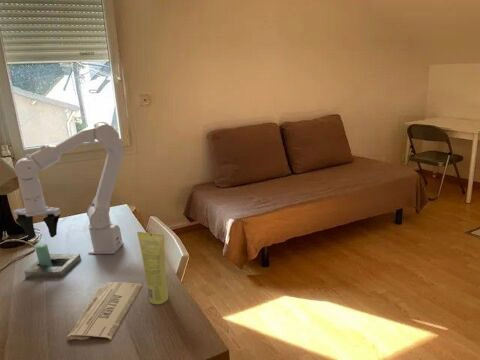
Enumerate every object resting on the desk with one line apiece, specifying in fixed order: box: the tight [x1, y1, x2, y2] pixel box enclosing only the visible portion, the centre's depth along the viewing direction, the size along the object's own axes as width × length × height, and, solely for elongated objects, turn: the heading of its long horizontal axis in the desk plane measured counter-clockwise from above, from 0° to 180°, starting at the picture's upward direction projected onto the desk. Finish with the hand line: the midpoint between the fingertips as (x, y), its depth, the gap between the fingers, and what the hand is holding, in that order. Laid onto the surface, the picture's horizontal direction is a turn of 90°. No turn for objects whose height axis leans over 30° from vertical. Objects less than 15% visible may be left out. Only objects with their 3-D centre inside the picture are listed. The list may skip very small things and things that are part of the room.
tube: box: [137, 231, 169, 305], centre depth 93 cm, size 6×5×20 cm
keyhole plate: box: [24, 253, 82, 279], centre depth 115 cm, size 12×11×2 cm
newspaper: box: [66, 281, 143, 341], centre depth 92 cm, size 23×12×2 cm, turn 176°
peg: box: [34, 242, 54, 267], centre depth 114 cm, size 3×3×8 cm
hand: (42, 236), depth 116 cm, fingers open, 7 cm apart
